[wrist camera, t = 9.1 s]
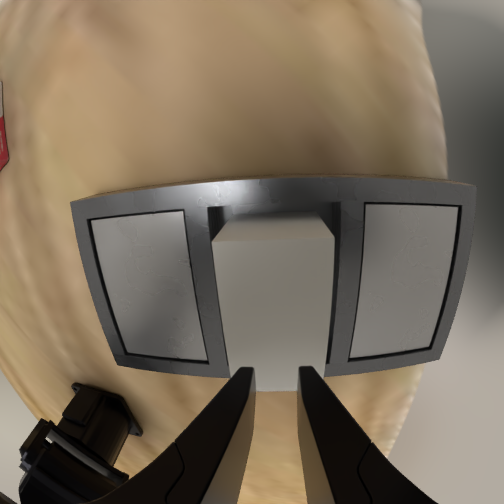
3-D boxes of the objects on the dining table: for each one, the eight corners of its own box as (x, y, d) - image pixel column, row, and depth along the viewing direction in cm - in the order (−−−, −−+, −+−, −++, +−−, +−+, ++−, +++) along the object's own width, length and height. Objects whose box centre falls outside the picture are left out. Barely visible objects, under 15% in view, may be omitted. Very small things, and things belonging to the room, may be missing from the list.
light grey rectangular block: (312, 332, 15) (321, 389, 11) (244, 334, 15) (233, 390, 11) (315, 211, 13) (334, 237, 8) (232, 214, 13) (211, 241, 9)
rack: (423, 340, 15) (438, 365, 13) (133, 346, 17) (117, 370, 15) (450, 180, 12) (479, 186, 9) (96, 194, 14) (67, 203, 11)
